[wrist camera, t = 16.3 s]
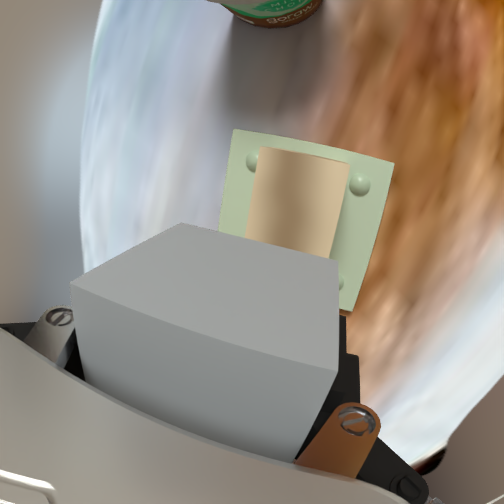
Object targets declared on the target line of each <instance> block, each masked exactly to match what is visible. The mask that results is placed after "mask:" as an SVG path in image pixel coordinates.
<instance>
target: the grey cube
mask: <svg viewBox="0 0 504 504" xmlns="http://www.w3.org/2000/svg"><path fill="white" fill-rule="evenodd" d="M69 285H70V295H71V302H72V310H73V318H74V324H75V330H76V336H77V342H78V347H79V353H80V358H81V362H82V367H83V372H84V376H85V380H86V383H88V384H90V385H91V386H93V387H95V388H97V389H99V390H100V391H102V392H104V393H106V394H108V395H110V396H112V397H114V398H115V399H117V400H119V401H121V402H123V403H125V404H127V405H129V406H131V407H133V408H135V409H138V410H140V411H142V412H144V413H146V414H148V415H150V416H153V417H155V418H157V419H159V420H162V421H164V422H166V423H169V424H171V425H174V426H176V427H178V428H181V429H183V430H186V431H188V432H191V433H194V434H196V435H199V436H202V437H204V438H207V439H210V440H213V441H216V442H218V443H221V444H224V445H227V446H230V447H234V448H237V449H240V450H243V451H247V452H250V453H253V454H257V455H260V456H264V457H267V458H271V459H275V460H279V461H282V462H286V463H290V464H292V462H293V460H294V459H295V457H296V455H297V453H298V451H299V450H300V448H301V446H302V444H303V442H304V440H305V439H306V437H307V435H308V433H309V431H310V429H311V427H312V425H313V423H314V421H315V419H316V417H317V415H318V413H319V411H320V409H321V407H322V405H323V403H324V401H325V399H326V397H327V395H328V392H329V390H330V388H331V386H332V384H333V382H334V379H335V377H336V375H337V373H338V359H339V272H338V261H336V260H332V259H328V258H324V257H320V256H316V255H312V254H308V253H304V252H300V251H296V250H292V249H288V248H284V247H280V246H276V245H272V244H268V243H263V242H259V241H255V240H251V239H247V238H243V237H239V236H235V235H231V234H226V233H222V232H218V231H214V230H210V229H206V228H201V227H197V226H193V225H189V224H184V223H179V224H177V225H175V226H173V227H172V228H170V229H168V230H166V231H164V232H162V233H160V234H158V235H156V236H154V237H152V238H150V239H148V240H146V241H144V242H142V243H140V244H139V245H137V246H135V247H133V248H131V249H129V250H127V251H125V252H124V253H122V254H120V255H118V256H116V257H114V258H112V259H111V260H109V261H107V262H105V263H103V264H102V265H100V266H98V267H96V268H94V269H93V270H91V271H89V272H87V273H85V274H84V275H82V276H80V277H78V278H77V279H75V280H73V281H72V282H70V283H69Z"/></svg>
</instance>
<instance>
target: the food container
mask: <svg viewBox="0 0 504 504" xmlns="http://www.w3.org/2000/svg"><path fill="white" fill-rule="evenodd" d="M207 1H210V2H215V3H220V4H221V5H222V6H224V7H225V8H226V9H228V10H229V11H230V12H232V13H233V14H234V15H236V16H237V17H238V18H239V19H241V20H243V21H245V22H247V23H249V24H251V25H254V26H258V27H264V28H283V27H289V26H292V25H295V24H298V23H300V22H302V21H304V20H306V19H307V18H309V17H310V16H312V15H313V14H314V13H315V12H316V11H317V9H318V8H319V7H320V5H321V3H322V0H207Z"/></svg>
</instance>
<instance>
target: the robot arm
mask: <svg viewBox="0 0 504 504" xmlns="http://www.w3.org/2000/svg"><path fill="white" fill-rule="evenodd" d="M380 428H381V423H380V419H379V417H378V416H377V414H376V413H375V412H374V411H373V410H372V409H370V408H369V407H367V406H365V405H362V404H360V374H359V357H358V356H357V355H353V354H348V353H346V316H342V315H339V359H338V373H337V375H336V377H335V379H334V382H333V384H332V386H331V388H330V390H329V392H328V395H327V397H326V399H325V401H324V403H323V405H322V407H321V409H320V411H319V413H318V415H317V417H316V419H315V421H314V423H313V425H312V427H311V429H310V431H309V433H308V435H307V437H306V439H305V440H304V442H303V444H302V446H301V448H300V450H299V451H298V453H297V455H296V457H295V459H296V461H295V462H294V464H290V463H286V462H282V461H279V460H275V459H271V458H267V457H264V456H260V455H257V454H253V453H250V452H247V451H243V450H240V449H237V448H234V447H230V446H227V445H224V444H221V443H218V442H216V441H213V440H210V439H207V438H204V437H202V436H199V435H196V434H194V433H191V432H188V431H186V430H183V429H181V428H178V427H176V426H174V425H171V424H169V423H166V422H164V421H162V420H159V419H157V418H155V417H153V416H150V415H148V414H146V413H144V412H142V411H140V410H138V409H135V408H133V407H131V406H129V405H127V404H125V403H123V402H121V401H119V400H117V399H115V398H114V397H112V396H110V395H108V394H106V393H104V392H102V391H100V390H99V389H97V388H95V387H93V386H91V385H90V384H88V383H86V380H85V376H84V372H83V367H82V362H81V358H80V353H79V347H78V342H77V336H76V330H75V324H74V318H73V310H72V307H70V306H64V305H60V306H55V307H51V308H49V309H48V310H46V311H45V312H44V314H43V315H42V316H41V317H40V319H39V320H38V321H37V322H32V323H31V322H30V323H10V324H0V504H444V503H442V502H441V501H440V500H439V499H438V498H435V499H433V500H432V499H431V498H430V497H429V496H428V495H429V490H428V486H427V483H426V481H425V480H424V479H423V478H422V476H420V475H419V474H418V473H417V472H416V471H415V470H414V469H413V468H411V467H410V466H409V465H408V464H407V463H406V462H405V461H404V460H402V459H401V458H400V457H399V456H398V455H397V454H396V453H395V452H394V451H393V450H391V449H390V448H389V447H388V446H387V445H386V444H385V443H384V442H383V441H382V440H381V439H380V438H378V437H377V436H378V434H379V432H380Z"/></svg>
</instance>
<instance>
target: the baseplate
mask: <svg viewBox="0 0 504 504" xmlns="http://www.w3.org/2000/svg"><path fill="white" fill-rule="evenodd" d="M260 146H263V147H275V148H281V149H287V150H292V151H297V152H302V153H307V154H311V155H316V156H321V157H325V158H329V159H334V160H338V161H342V162H346V163H348V164H349V165H350V169H349V174H348V179H347V183H346V188H345V193H344V197H343V201H342V206H341V210H340V214H339V219H338V223H337V227H336V231H335V235H334V239H333V243H332V247H331V251H330V254H329V258H328V259H332V260H336V261H338V272H339V308H340V309H344V310H348V311H352V310H353V308H354V305H355V302H356V299H357V296H358V293H359V290H360V287H361V284H362V281H363V278H364V275H365V272H366V269H367V266H368V262H369V259H370V256H371V253H372V249H373V246H374V242H375V239H376V235H377V232H378V228H379V225H380V221H381V217H382V213H383V210H384V206H385V202H386V198H387V194H388V189H389V185H390V181H391V177H392V172H393V168H394V163H391V162H388V161H385V160H381V159H377V158H374V157H370V156H366V155H363V154H359V153H355V152H351V151H347V150H343V149H339V148H334V147H330V146H326V145H321V144H317V143H312V142H307V141H302V140H297V139H292V138H287V137H282V136H276V135H271V134H265V133H259V132H252V131H246V130H239V129H233V134H232V140H231V146H230V152H229V159H228V165H227V171H226V178H225V184H224V191H223V198H222V204H221V211H220V218H219V225H218V232H222V233H226V234H231V235H235V236H239V237H243V238H245V232H246V226H247V220H248V214H249V208H250V202H251V196H252V190H253V184H254V178H255V172H256V166H257V161H258V155H259V149H260Z"/></svg>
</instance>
